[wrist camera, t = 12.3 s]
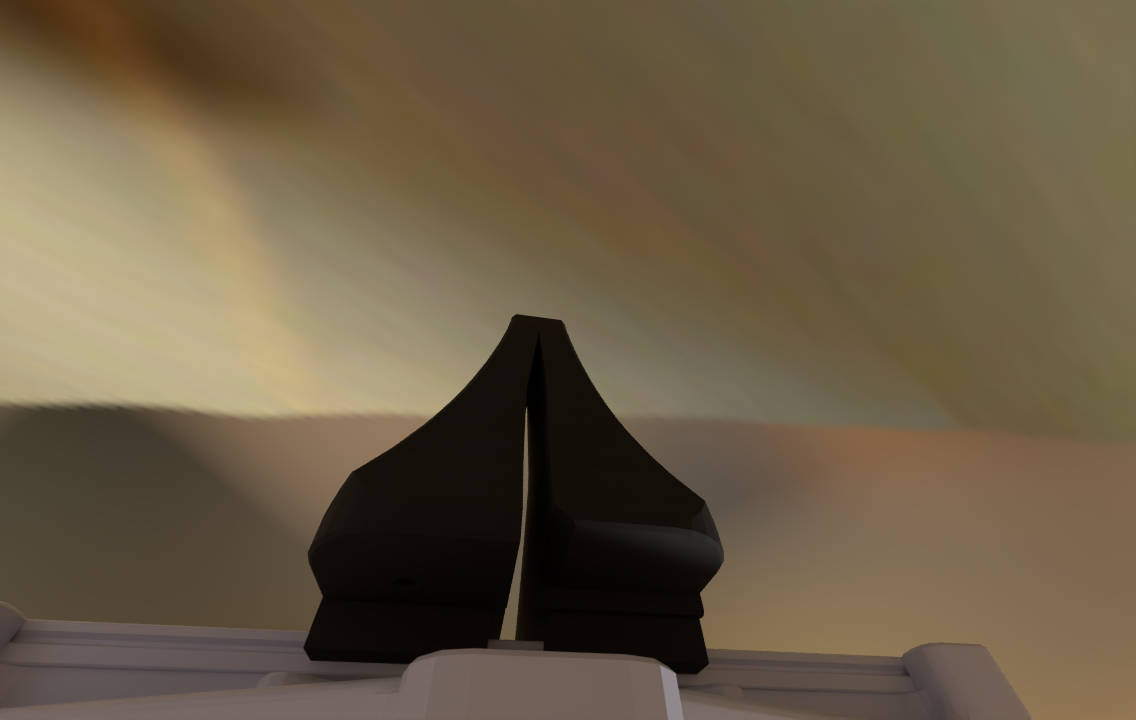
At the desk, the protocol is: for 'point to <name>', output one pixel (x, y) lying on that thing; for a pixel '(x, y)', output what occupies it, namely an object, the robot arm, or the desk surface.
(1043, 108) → the desk surface
